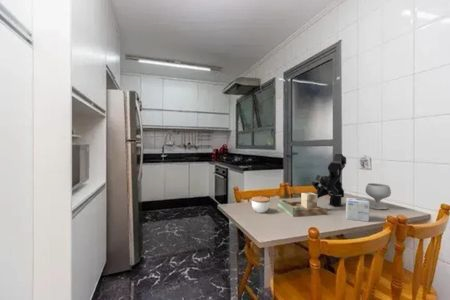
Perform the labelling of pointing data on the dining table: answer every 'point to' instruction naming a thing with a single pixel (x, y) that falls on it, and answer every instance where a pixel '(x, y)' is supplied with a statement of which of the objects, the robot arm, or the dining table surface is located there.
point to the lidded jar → (260, 204)
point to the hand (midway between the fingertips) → (315, 198)
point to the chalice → (378, 194)
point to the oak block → (309, 200)
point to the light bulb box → (357, 209)
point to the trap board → (299, 209)
